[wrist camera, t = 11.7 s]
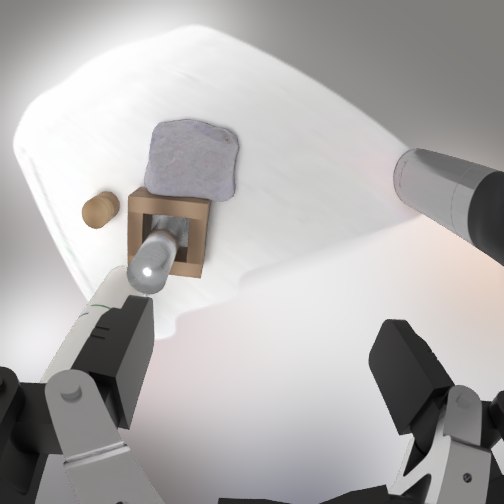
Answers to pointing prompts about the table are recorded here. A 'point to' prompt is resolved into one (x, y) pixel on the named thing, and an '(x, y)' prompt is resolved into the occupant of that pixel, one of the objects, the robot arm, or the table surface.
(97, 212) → the oak stub
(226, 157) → the stone block
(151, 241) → the steel pin
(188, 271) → the collar
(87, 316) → the cylindrical container
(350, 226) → the table surface
